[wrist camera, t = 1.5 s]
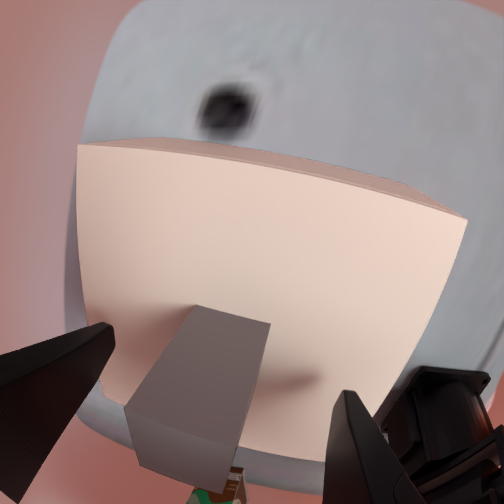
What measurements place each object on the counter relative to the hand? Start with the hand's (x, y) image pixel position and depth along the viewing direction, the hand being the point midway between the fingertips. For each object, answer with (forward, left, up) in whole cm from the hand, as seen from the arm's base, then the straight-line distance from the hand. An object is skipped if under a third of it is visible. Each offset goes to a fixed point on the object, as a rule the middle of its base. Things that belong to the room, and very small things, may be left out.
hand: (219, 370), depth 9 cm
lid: (0, 0, -2) cm, 2 cm away
